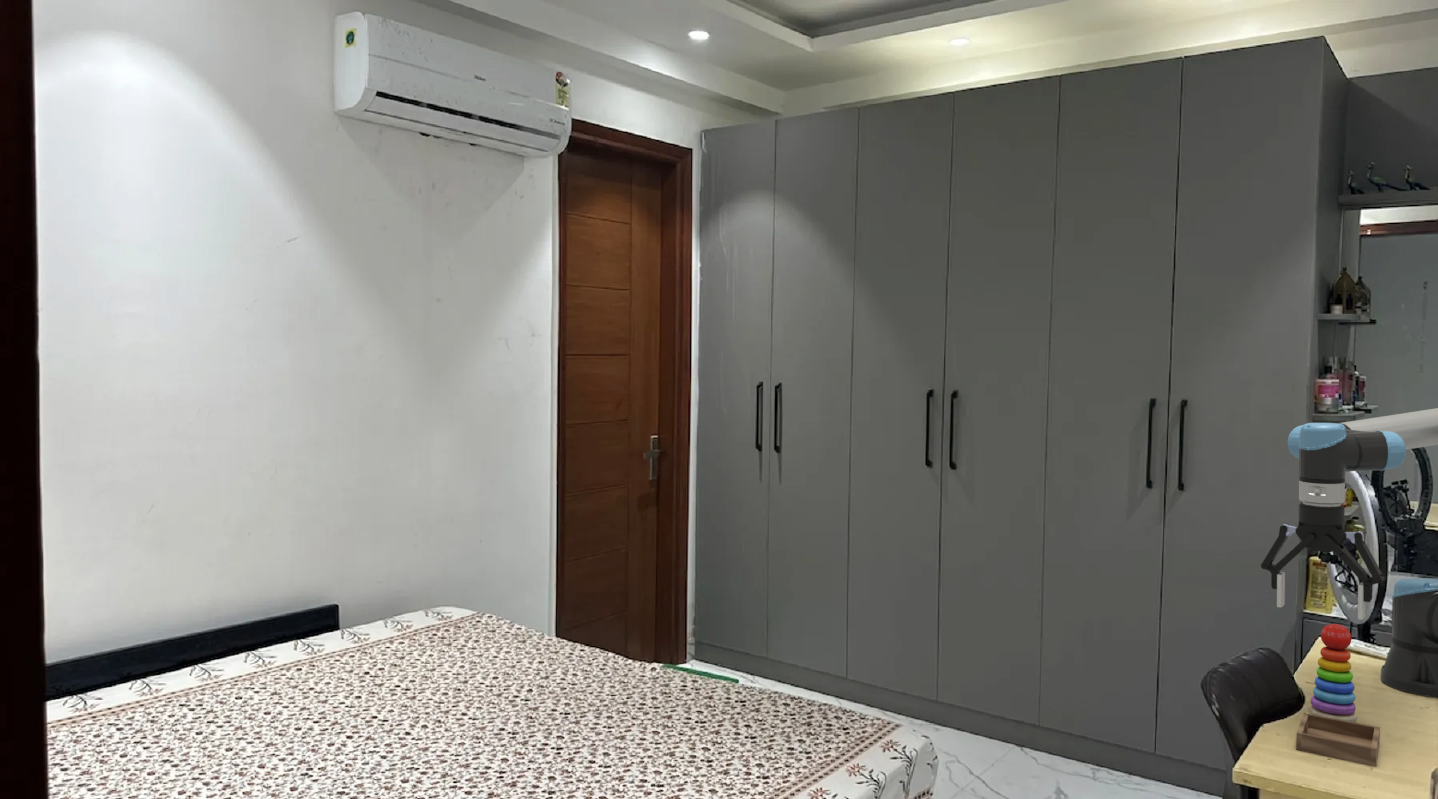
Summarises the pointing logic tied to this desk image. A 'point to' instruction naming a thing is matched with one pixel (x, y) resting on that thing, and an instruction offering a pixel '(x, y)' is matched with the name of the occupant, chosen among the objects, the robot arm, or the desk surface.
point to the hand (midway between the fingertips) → (1320, 611)
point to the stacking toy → (1334, 677)
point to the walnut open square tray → (1338, 739)
